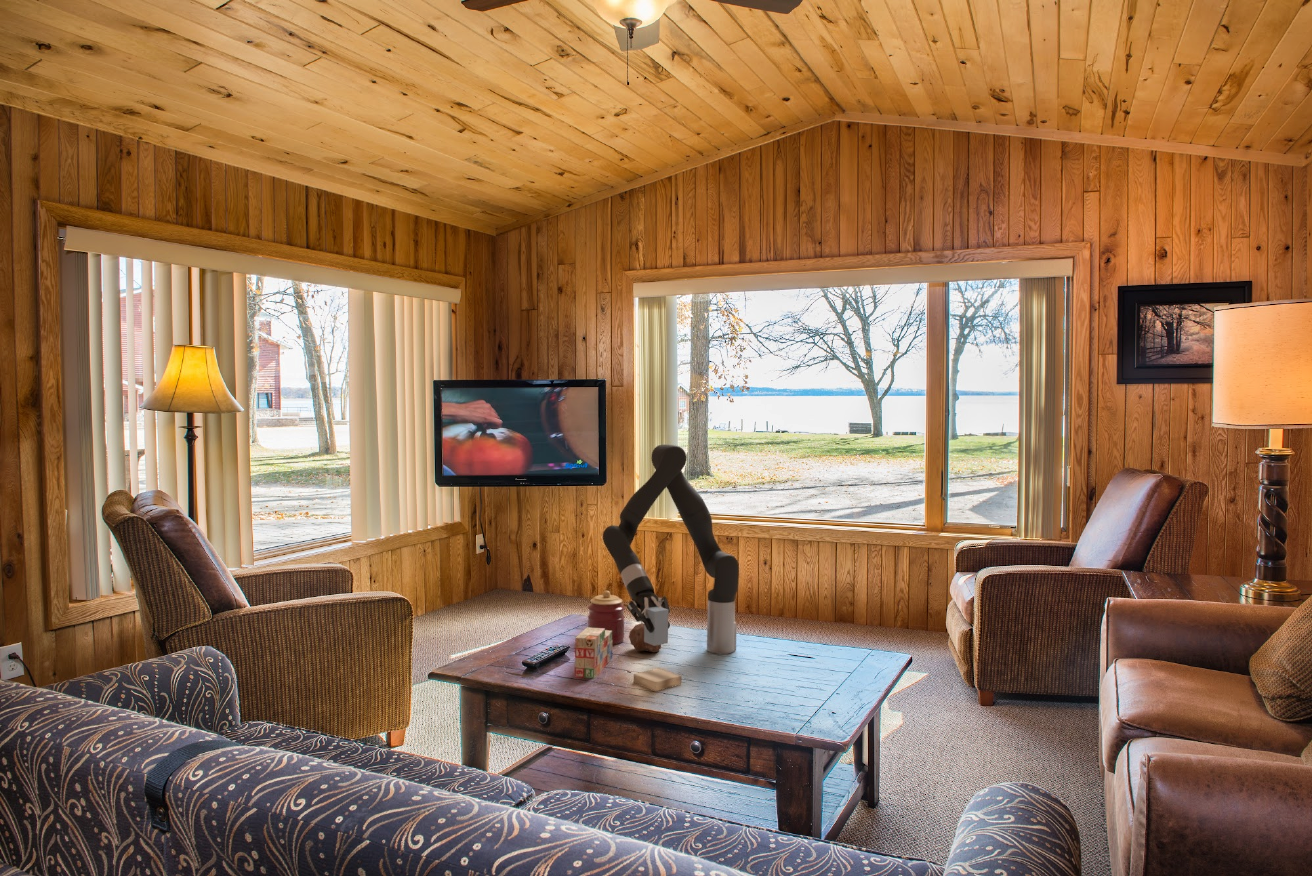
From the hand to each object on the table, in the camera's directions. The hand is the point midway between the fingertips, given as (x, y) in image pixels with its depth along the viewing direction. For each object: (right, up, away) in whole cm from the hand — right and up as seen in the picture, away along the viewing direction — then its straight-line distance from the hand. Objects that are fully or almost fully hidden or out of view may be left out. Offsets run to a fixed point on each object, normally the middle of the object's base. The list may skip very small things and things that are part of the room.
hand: (660, 629), depth 245 cm
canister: (-19, -15, +47) cm, 53 cm away
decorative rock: (-5, -15, +35) cm, 39 cm away
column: (-1, -4, +2) cm, 5 cm away
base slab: (-1, -17, +1) cm, 17 cm away
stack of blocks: (-21, -16, +16) cm, 30 cm away
